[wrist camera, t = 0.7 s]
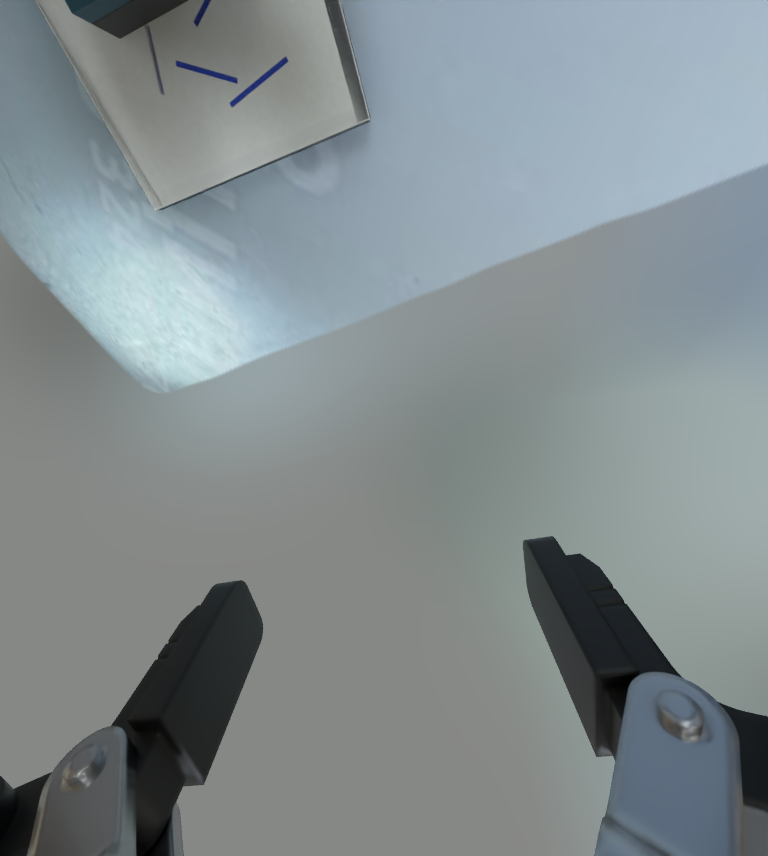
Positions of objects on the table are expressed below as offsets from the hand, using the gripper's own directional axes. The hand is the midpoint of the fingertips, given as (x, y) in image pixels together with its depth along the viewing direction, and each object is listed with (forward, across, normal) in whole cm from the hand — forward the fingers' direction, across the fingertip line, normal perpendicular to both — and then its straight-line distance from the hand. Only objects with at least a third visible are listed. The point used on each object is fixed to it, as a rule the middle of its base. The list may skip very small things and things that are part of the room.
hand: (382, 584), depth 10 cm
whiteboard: (+22, +7, -25) cm, 35 cm away
